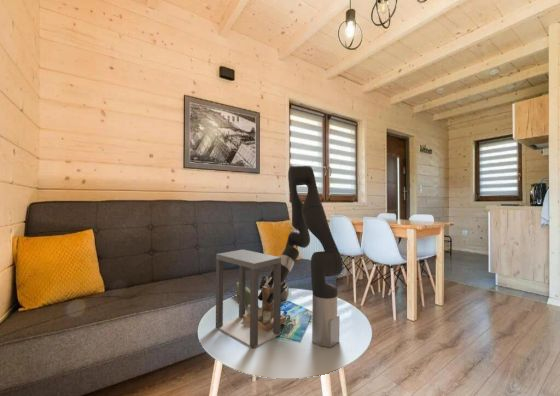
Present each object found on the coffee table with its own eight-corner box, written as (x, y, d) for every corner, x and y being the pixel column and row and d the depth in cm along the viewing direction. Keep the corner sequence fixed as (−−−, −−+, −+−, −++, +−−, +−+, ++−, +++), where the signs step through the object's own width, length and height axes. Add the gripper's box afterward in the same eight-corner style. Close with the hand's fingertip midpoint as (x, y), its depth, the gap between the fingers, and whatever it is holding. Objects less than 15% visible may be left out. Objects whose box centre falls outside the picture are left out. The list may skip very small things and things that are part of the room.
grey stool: (280, 334, 107) (281, 257, 107) (253, 348, 97) (254, 263, 97) (242, 316, 123) (242, 249, 123) (215, 327, 112) (216, 254, 112)
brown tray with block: (285, 322, 116) (285, 289, 116) (266, 331, 108) (266, 296, 108) (262, 312, 126) (262, 281, 126) (243, 320, 117) (243, 287, 117)
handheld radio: (241, 293, 153) (261, 309, 131) (235, 294, 151) (254, 310, 130) (240, 281, 153) (260, 295, 131) (235, 282, 151) (254, 296, 130)
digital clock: (278, 290, 157) (278, 272, 157) (293, 292, 154) (293, 273, 154) (266, 300, 142) (267, 280, 142) (283, 303, 139) (283, 282, 139)
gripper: (267, 260, 128) (247, 292, 119) (291, 265, 118) (271, 301, 109) (275, 269, 132) (256, 301, 123) (298, 275, 122) (280, 310, 113)
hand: (263, 301), depth 116 cm, fingers closed on brown tray with block, 4 cm apart
